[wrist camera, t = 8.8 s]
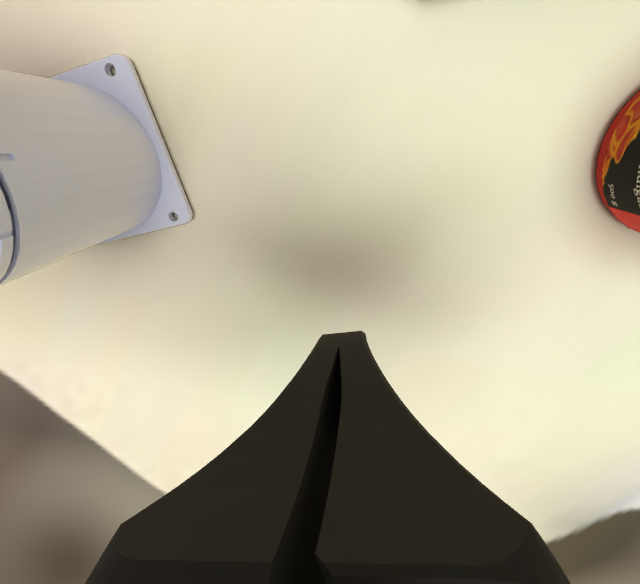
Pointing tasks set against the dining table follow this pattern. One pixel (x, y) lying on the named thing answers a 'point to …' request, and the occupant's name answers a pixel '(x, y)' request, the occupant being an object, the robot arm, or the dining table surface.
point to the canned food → (622, 165)
